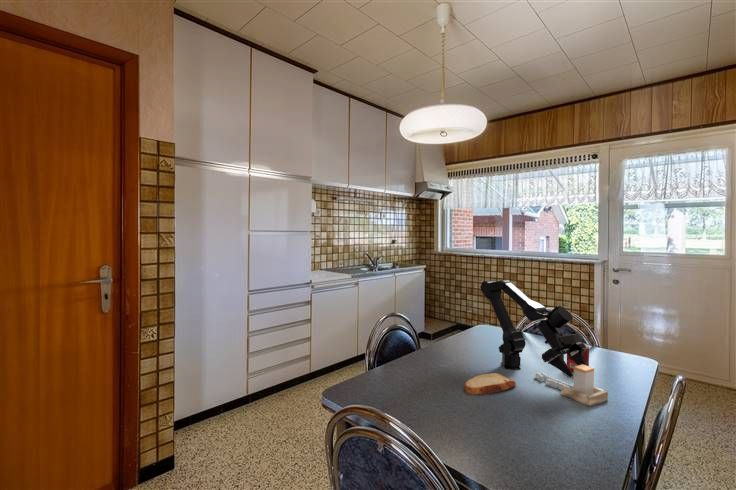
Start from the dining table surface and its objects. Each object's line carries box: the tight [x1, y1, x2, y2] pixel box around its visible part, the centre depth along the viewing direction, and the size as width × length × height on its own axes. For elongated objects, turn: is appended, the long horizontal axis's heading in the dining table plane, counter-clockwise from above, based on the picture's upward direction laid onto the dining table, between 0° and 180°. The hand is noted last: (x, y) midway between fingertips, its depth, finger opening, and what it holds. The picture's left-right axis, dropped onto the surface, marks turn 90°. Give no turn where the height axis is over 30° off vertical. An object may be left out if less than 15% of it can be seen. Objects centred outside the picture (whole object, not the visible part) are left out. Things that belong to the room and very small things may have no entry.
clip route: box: [534, 371, 574, 391], centre depth 131 cm, size 6×14×2 cm, turn 21°
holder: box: [559, 386, 609, 408], centre depth 121 cm, size 10×10×3 cm
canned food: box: [566, 342, 590, 373], centre depth 145 cm, size 8×8×11 cm
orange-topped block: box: [573, 364, 595, 396], centre depth 121 cm, size 4×5×10 cm
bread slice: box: [463, 372, 517, 395], centre depth 129 cm, size 18×18×4 cm
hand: (579, 374), depth 122 cm, fingers open, 9 cm apart
